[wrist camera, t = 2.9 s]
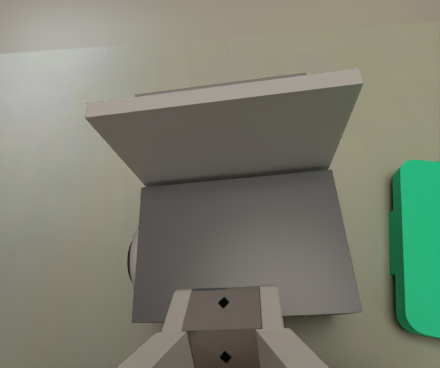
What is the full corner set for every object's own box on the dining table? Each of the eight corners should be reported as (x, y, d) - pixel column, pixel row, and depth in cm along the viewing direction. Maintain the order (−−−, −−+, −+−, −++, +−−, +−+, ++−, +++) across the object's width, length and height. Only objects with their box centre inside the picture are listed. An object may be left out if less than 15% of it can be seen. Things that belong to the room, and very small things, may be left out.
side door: (167, 214, 26) (80, 119, 14) (167, 196, 26) (85, 91, 14) (318, 201, 24) (368, 84, 12) (315, 183, 25) (360, 55, 13)
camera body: (150, 323, 23) (107, 324, 17) (155, 220, 26) (121, 189, 20) (334, 315, 22) (362, 312, 15) (315, 207, 25) (331, 168, 19)
